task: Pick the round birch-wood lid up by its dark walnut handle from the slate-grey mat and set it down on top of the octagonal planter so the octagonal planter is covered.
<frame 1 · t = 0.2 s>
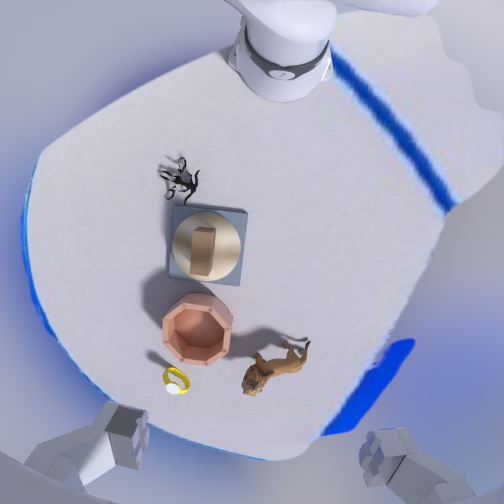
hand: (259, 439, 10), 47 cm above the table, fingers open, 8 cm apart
lid: (206, 246, 56), point 1 cm above the table, touching mat
creature: (180, 180, 55), on the table
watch: (179, 372, 63), on the table
lion figurine: (274, 357, 61), on the table
octagonal planter: (201, 322, 60), on the table
mat: (207, 245, 57), on the table
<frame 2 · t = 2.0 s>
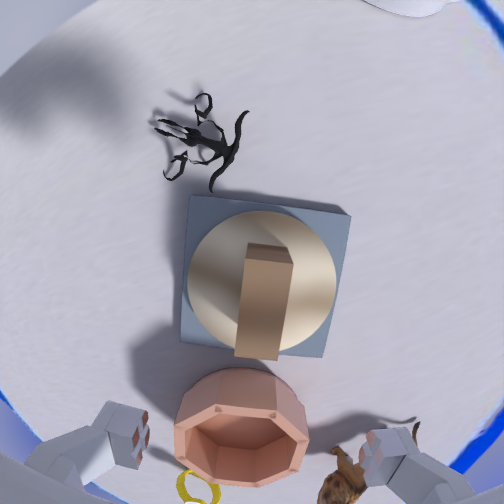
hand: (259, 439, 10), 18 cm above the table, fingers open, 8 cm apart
lid: (261, 283, 26), point 1 cm above the table, touching mat
creature: (197, 140, 25), on the table
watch: (202, 473, 34), on the table
lion figurine: (362, 447, 32), on the table
octagonal planter: (242, 412, 31), on the table
mat: (261, 280, 27), on the table
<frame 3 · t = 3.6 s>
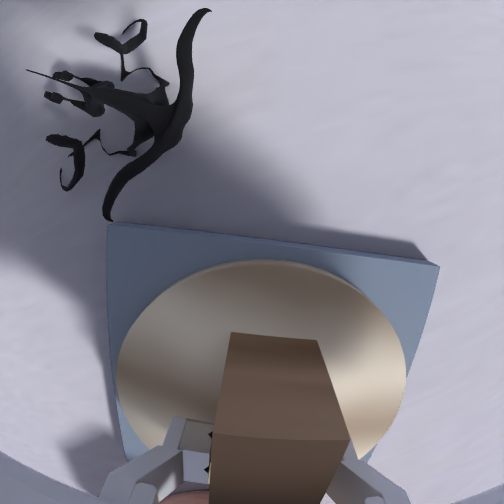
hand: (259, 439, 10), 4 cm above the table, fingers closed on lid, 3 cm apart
lid: (261, 397, 12), point 1 cm above the table, touching gripper, mat
creature: (120, 109, 11), on the table
mat: (258, 384, 13), on the table
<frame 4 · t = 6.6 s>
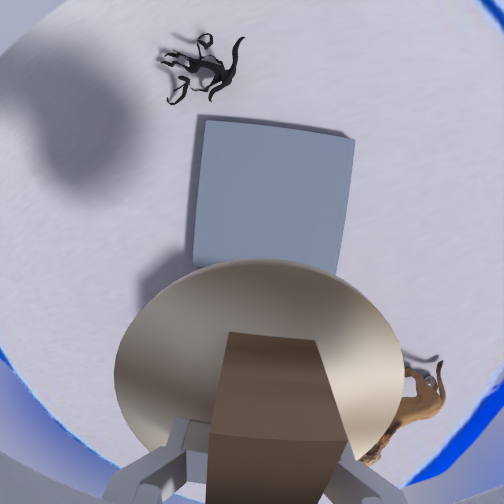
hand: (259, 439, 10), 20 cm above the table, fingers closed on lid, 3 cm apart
lid: (259, 397, 12), point 18 cm above the table, touching gripper
creature: (198, 72, 26), on the table
lion figurine: (386, 391, 33), on the table
mat: (272, 201, 28), on the table
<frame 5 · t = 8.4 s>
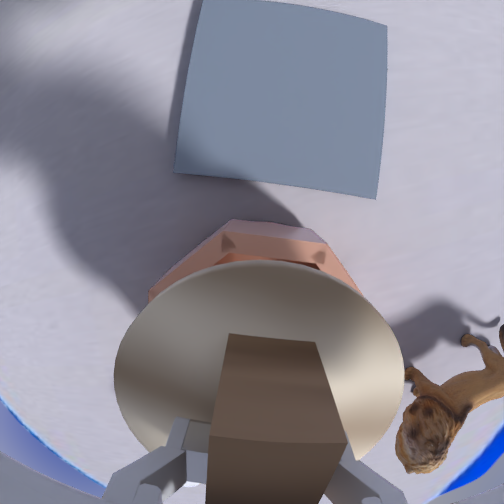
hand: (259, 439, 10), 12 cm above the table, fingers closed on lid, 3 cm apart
lid: (259, 398, 12), point 10 cm above the table, touching gripper
lion figurine: (439, 369, 23), on the table
octagonal planter: (259, 307, 22), on the table
mat: (287, 88, 19), on the table
when the fingers open (10 cm above the table, at t = 9.5 s): lid drops 1 cm, resting on octagonal planter.
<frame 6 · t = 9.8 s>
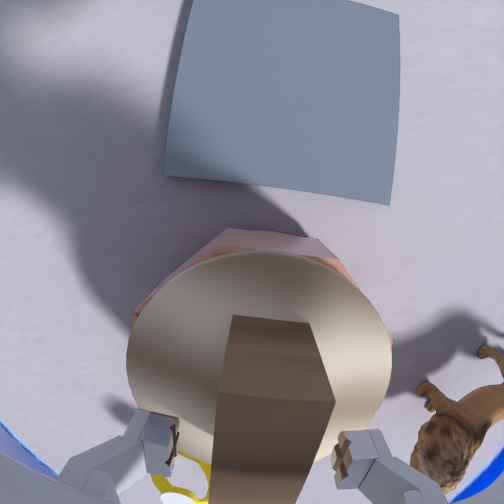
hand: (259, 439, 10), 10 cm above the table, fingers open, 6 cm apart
lid: (259, 377, 14), point 6 cm above the table, touching octagonal planter
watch: (191, 449, 23), on the table
lion figurine: (454, 383, 21), on the table
octagonal planter: (259, 325, 20), on the table
mat: (290, 81, 17), on the table
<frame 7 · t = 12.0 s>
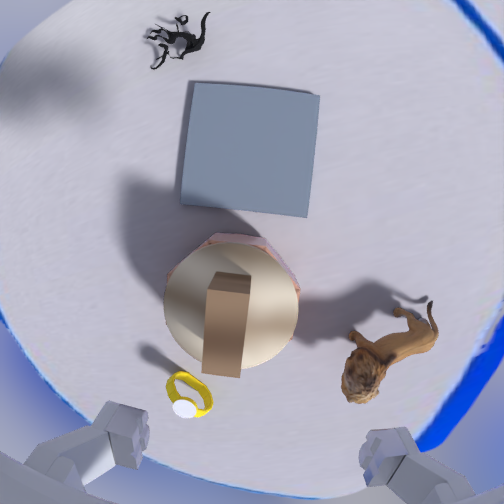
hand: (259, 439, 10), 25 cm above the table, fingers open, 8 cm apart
lid: (230, 307, 29), point 6 cm above the table, touching octagonal planter
creature: (176, 45, 30), on the table
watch: (194, 381, 37), on the table
lion figurine: (379, 334, 36), on the table
octagonal planter: (235, 288, 34), on the table
mat: (250, 147, 32), on the table
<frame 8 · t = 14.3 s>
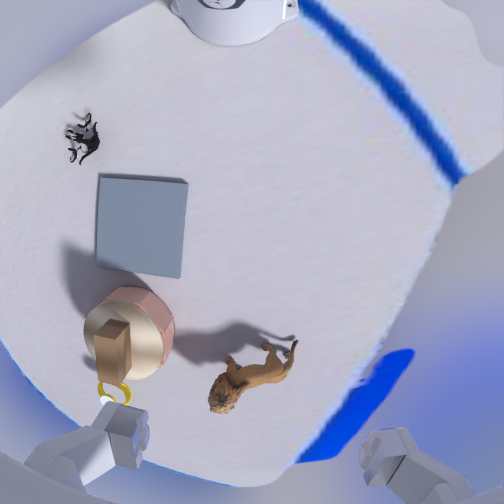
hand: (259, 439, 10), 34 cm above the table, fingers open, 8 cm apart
lid: (123, 340, 40), point 6 cm above the table, touching octagonal planter
creature: (86, 139, 41), on the table
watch: (120, 383, 49), on the table
lion figurine: (253, 362, 47), on the table
octagonal planter: (137, 323, 46), on the table
mat: (139, 226, 43), on the table
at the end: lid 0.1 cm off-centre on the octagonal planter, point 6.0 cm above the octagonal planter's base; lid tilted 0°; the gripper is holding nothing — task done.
